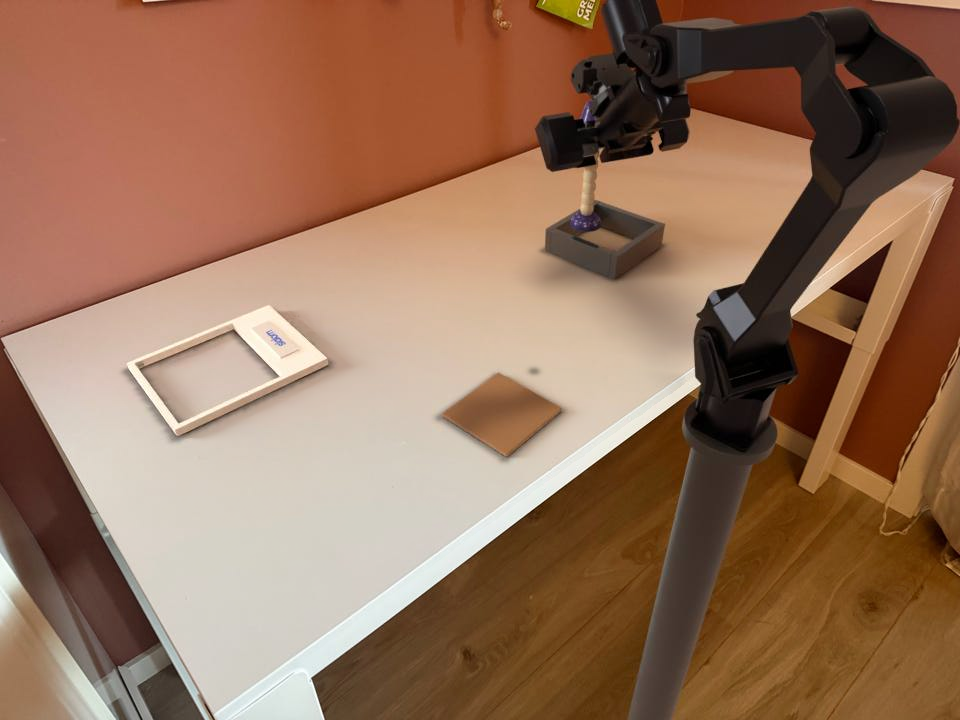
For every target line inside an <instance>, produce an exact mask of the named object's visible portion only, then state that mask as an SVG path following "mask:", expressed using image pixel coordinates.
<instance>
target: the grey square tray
mask: <svg viewBox="0 0 960 720" xmlns="http://www.w3.org/2000/svg"><path fill="white" fill-rule="evenodd" d="M593 206H594V209H593V212H594V213H596V214H597V215H598V216H599V218H600V221H601V227H600V228H603V229H606V230H609V231H611V232H613V233H616V234H619V235H622V236H624V237H627V238H630V239H632V240H631V241H629V242H628V243H626V244H625V245H623V246H622V247H620V248H618V249H617V250H616V251H614V250H612V249H609V248H606V247H604V246H601V245H599V244H597V243H594V242H592V241H588V240H586V239H585V238H581V237H580V236H579V235H581V234H583V232H582V231H577V230H575V229H573V228H572V227H571V226H570V221H571V218H572V217H573V215H574V214H576V213H577V212H579V211H580V208H579V209H577V210H575V211H574V212H572V213H570V214H568V215H566V216H565V217H563V218H562V219H561V218H560V220H558V221H557V222H554V223H553V224H552V225H551V224H550V225H549V226H548V227H546V228H545V236H544V252H547V253H550V254H552V255H555V256H557V257H559V258H562V259H564V260H568V261H569V262H572V263H574V264H577V265H579V266H581V267H583V268H585V269H588V270H590V271H593V272H596V273H598V274H600V275H602V276H605V277H608V278H610V279H613V280H616V279H618V278H619V277H620V276H622V275H623V274H625V273H626V272H627V271H628V270H630V269H631V268H633V267H634V266H635V265H637V264H638V263H640V262H642V261H643V260H644V259H645V258H647V257H648V256H649V255H651V254H652V253H654V252H656V251H657V250H658V249H660V248H661V247H662V246H663V240H664V234H665V227H666V224H665V223H663V222H661V221H658V220H654V219H651V218H648V217H646V216H643V215H641V214H638V213H634V212H631V211H629V210H626V209H623V208H621V207H620V208H619V206H618V207H617V206H614V205H612V204H609V203H606V202H603V201H600V200H598V199H594V202H593Z"/></svg>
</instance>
